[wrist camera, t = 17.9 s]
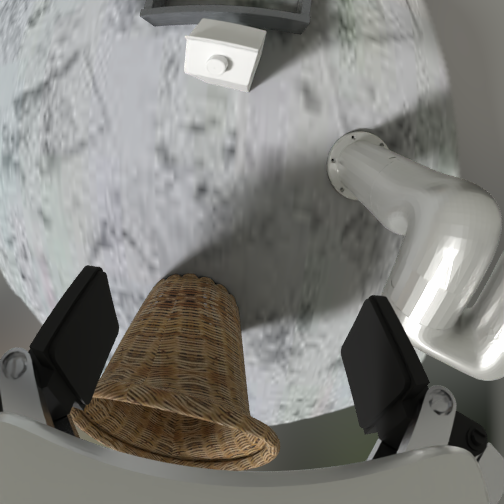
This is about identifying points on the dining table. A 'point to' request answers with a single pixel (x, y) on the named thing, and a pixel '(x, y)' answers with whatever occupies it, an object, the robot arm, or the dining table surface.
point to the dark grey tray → (228, 15)
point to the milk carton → (224, 53)
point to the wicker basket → (180, 384)
